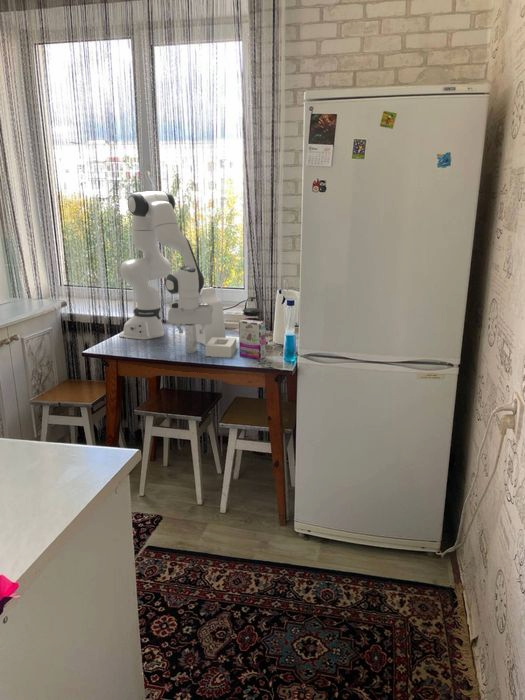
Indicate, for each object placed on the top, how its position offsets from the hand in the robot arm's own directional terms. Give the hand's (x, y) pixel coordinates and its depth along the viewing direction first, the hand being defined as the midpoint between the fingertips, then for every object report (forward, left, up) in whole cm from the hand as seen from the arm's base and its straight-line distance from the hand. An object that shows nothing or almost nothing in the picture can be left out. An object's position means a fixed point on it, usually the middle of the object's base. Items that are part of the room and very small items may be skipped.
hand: (191, 333), depth 237 cm
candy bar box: (+29, -5, -9) cm, 30 cm away
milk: (+4, +19, -9) cm, 21 cm away
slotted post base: (+14, 0, -9) cm, 16 cm away
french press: (+26, +14, -9) cm, 31 cm away
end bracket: (0, 0, -9) cm, 9 cm away
